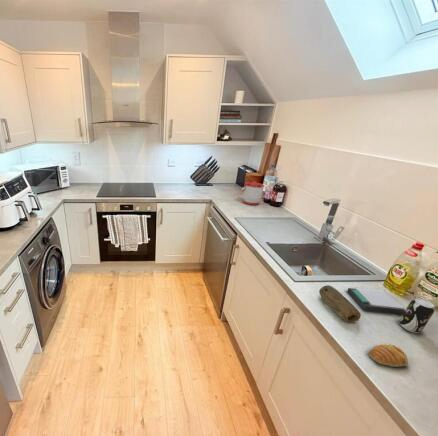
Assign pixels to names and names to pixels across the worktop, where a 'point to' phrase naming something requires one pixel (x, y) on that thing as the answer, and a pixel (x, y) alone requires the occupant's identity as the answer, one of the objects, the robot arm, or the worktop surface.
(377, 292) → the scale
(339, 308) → the brown rough cylinder
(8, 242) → the worktop surface
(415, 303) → the beverage can
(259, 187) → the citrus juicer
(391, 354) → the pastry
